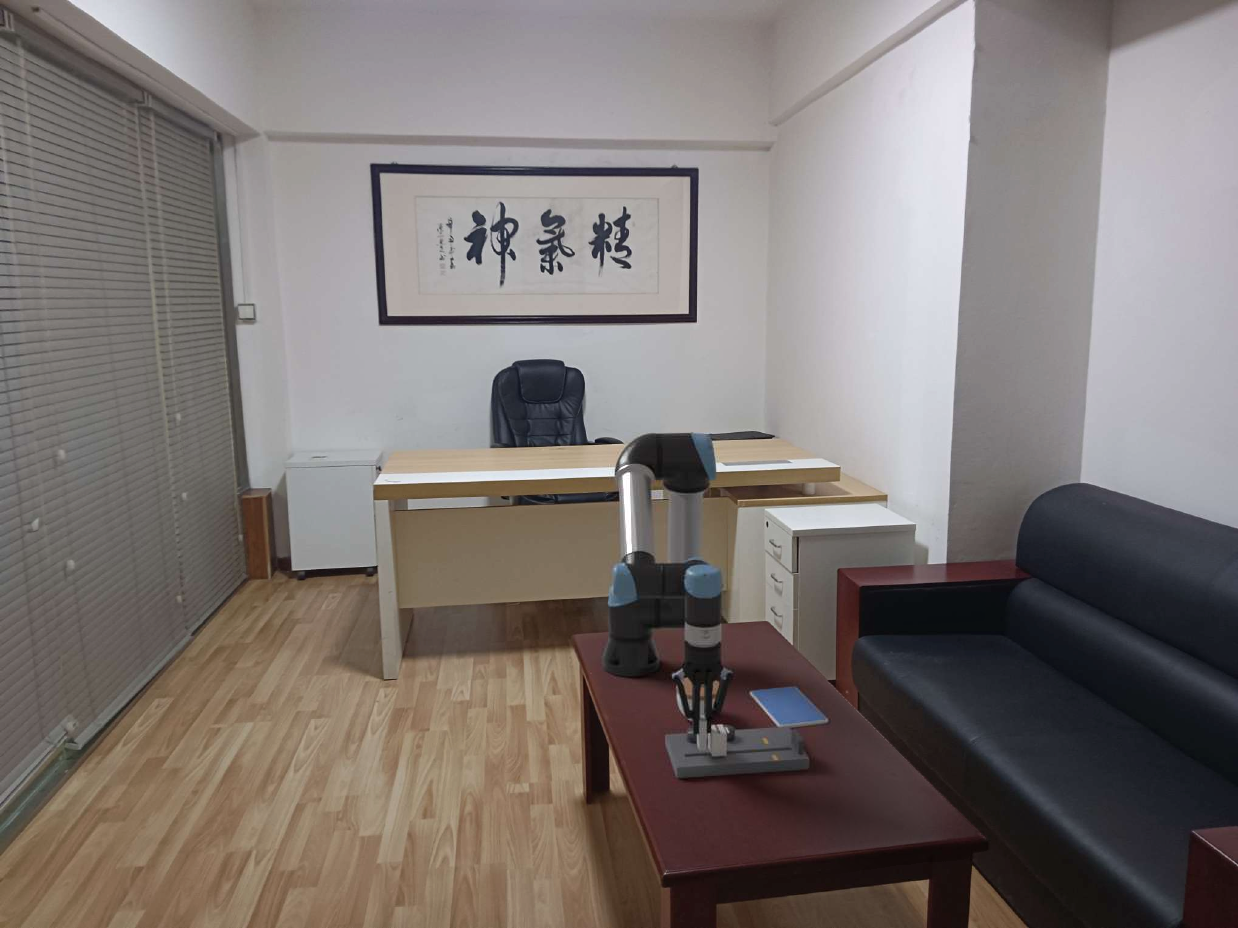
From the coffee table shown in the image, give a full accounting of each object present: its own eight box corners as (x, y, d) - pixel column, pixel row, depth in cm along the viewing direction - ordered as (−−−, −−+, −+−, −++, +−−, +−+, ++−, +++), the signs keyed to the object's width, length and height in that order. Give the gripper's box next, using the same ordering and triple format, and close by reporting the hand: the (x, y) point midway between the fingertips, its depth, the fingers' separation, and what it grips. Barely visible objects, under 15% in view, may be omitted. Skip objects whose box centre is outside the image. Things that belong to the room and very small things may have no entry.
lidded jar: (719, 729, 204) (720, 691, 202) (672, 725, 206) (673, 687, 204) (723, 708, 214) (724, 671, 212) (679, 704, 216) (679, 668, 214)
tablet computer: (748, 694, 222) (748, 689, 222) (795, 689, 225) (795, 684, 225) (779, 731, 204) (779, 725, 203) (829, 725, 206) (830, 719, 206)
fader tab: (708, 746, 190) (708, 724, 189) (722, 745, 190) (722, 723, 189) (712, 756, 186) (712, 733, 185) (726, 755, 186) (726, 732, 185)
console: (665, 744, 197) (665, 721, 196) (788, 736, 200) (789, 713, 199) (676, 778, 183) (676, 753, 182) (809, 768, 186) (809, 745, 185)
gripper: (674, 649, 179) (673, 757, 183) (738, 646, 180) (736, 754, 185) (668, 635, 186) (668, 739, 191) (729, 632, 187) (727, 736, 192)
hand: (701, 746), depth 188 cm, fingers closed
